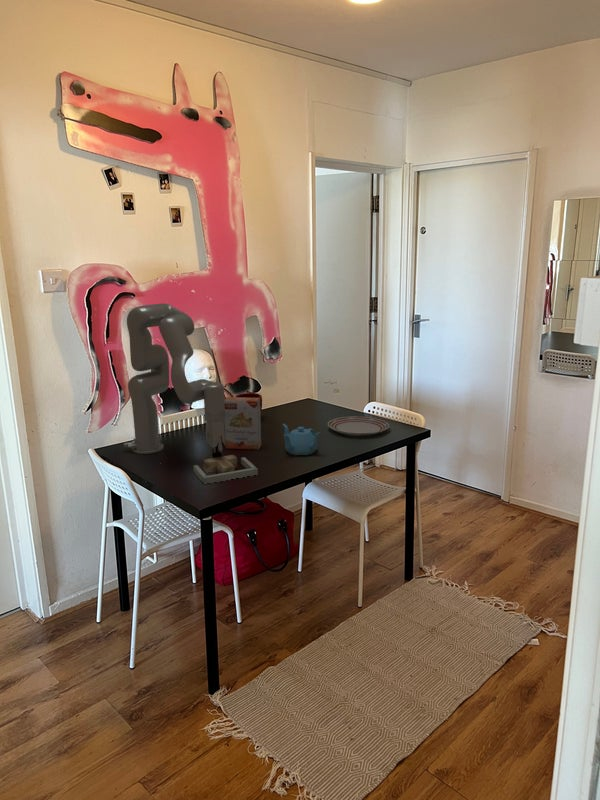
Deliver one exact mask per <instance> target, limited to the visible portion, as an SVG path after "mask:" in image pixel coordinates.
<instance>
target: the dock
mask: <svg viewBox="0 0 600 800" xmlns="http://www.w3.org/2000/svg"><path fill="white" fill-rule="evenodd" d="M240 465H241V466H243V467H244V468H245V469H239V470H234V471H232V472H227V473H221V474H219V473H217V474H211V475H207V473H206V472H205V471H204V470H202V469H201V468H200V466H199V465H198V464H195V465H193V473H194V474H195V476H196V477H198V479H199V480H200V481H201V482H203V483H204V484H206V485H208V484H207V483H211V484H215V483H214V482H217V483H221V482H220V481H223V482H227V481H226V480H228V481H232V480H231V479H234V480H237V479H236V478H239V479H244V478H243V477H245V478H248V477H247V476H250V477H254V475H256V476H258V475H259V474H258V472H259V470H258V467H256V466H255V465H254V464H253V463H252V462H251V461H249V460H248V459H247V458H246V457H245V456H244V457H240ZM203 483H202V484H203ZM204 484H203V485H204Z"/></svg>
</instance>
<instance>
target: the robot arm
mask: <svg viewBox="0 0 600 800" xmlns="http://www.w3.org/2000/svg"><path fill="white" fill-rule="evenodd" d="M126 325H127V331H128V335H129V337H128V338H129V353H130V354H129V356H130V364H131V368H132V369H133V370H134V371H137V372H143V373H140V374H139V373H138V374H136V375H134V376H132V377H131V378H130V379H129V380H128V382H127V390H128V393H129V397H130V401H131V405H132V417H133V427H134V428H133V430H134V438H133V440H131V441H129V442H128V441H126V442H123V448H128V449H130V448H131V449H132V452H134V453H135V454H140V455H147V454H153V453H154V454H155V453H159V452H161V451H162V450H163V449H164V447H165V446H164V443H161V442H160V433H159V432H160V431H159V430H160V429H159V419H158V408H157V404H156V402H155V401H154V399H153V397H152V396H155V395H156V396H157V395H158V394H161V393H165V392H167V390H168V389H169V387H170V382H171V385H172V387H173V390H174V391H175V393H176V395H177V397H178V399H179V400H180V401H181V402H182V403H183V404H192V403H193V404H194V403H196V402H199V401H203V404H204V406H203V407H204V421H205V441H206V443H207V444H208V446H210V447H211V454H212V455H211V456H212V457H211V458H216V457H222V456H223V455H222V453H223V447H226V442H225V401H224V400H225V388H224V387H225V386H224V384H223V383H222V382H219V381H217V382H216V381H211V380H208V379H205V378H204V379H203V378H202V379H201V378H200V379H197V380H193V381H188V379H187V376H186V373H185V366H186V364H187V362H188V360H189V359H190V358H191V357H193V354H194V349H193V347H192V345H191V342H190V340H189V338H188V336H191V335H192V334H193V333H194V331H195V322H194V320H193V319H192V317H190V315H188V313H185V312H184V311H182V310H180V309H178V308H176V307H175V306H173V305H172V304H168V303H165V302H164V303H155V304H154V303H153V304H145V305H140V306H135V307H134V308H132V309H131V310H130V311H129V312H128V314H127V316H126ZM152 327H158V330H159V333H160V335H161V337H162V340H163V342H164V344H165V346H166V348H167V349H166V348H165V347H164V346H163V345H161V344H156V343H155V344H153V337H152V334H151V331H150V330H149V329H148V328H152ZM168 353H169V354H168ZM169 355H170V357H171V361H172V363H171V367H170V359H169ZM170 368H171V369H170ZM149 370H150V371H149ZM145 371H148V372H145ZM170 380H171V381H170Z"/></svg>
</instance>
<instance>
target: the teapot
mask: <svg viewBox="0 0 600 800" xmlns="http://www.w3.org/2000/svg"><path fill="white" fill-rule="evenodd" d="M282 426H283V428H284V434H283V437H284V441H285V442H284V450H285V451H286V452H287V453H289V454H290V455H292V456H297V455H305V456H309V454H310V455H312V454H314V453H315V452H316V451H317V449H318V445H319V435H320V434H321V432H315V430H314V429H313V428H305V427H304V426H298V427H297V428H295V429H292V430H291V431H290V429H289V427H288V425H286V424H285V423H282Z"/></svg>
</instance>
